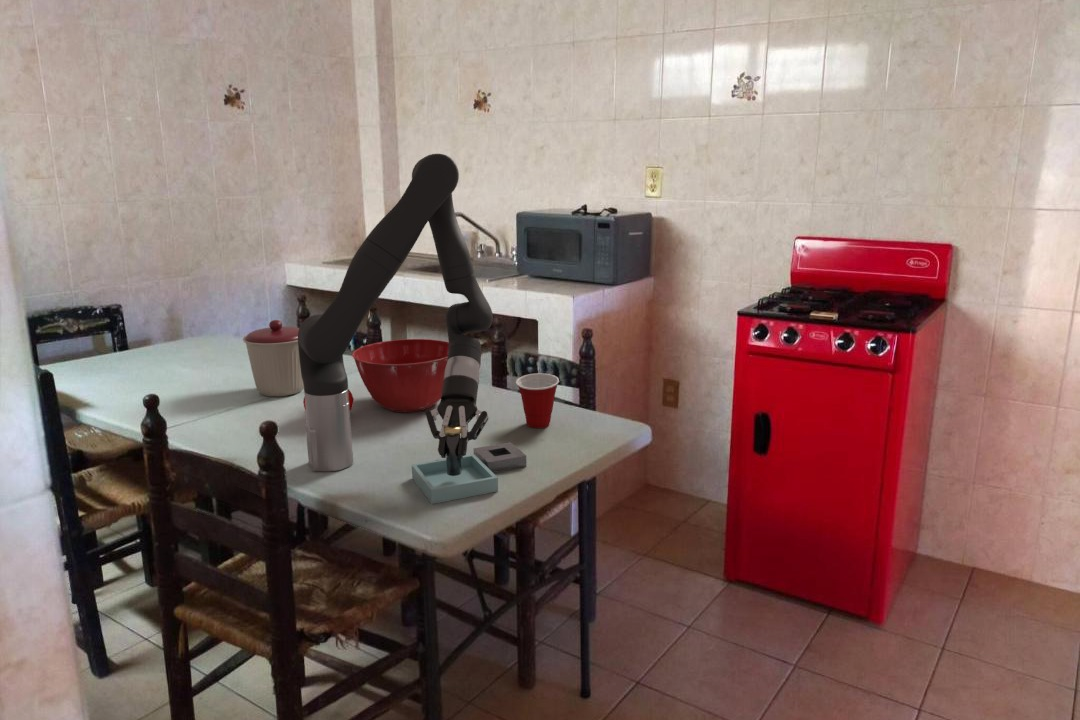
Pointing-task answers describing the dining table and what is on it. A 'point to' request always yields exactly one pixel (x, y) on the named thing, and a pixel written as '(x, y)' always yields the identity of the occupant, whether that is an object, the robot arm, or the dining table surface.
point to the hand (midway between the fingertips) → (451, 456)
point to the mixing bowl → (403, 372)
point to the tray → (454, 479)
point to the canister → (275, 359)
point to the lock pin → (452, 449)
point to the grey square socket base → (501, 457)
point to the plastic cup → (538, 398)
